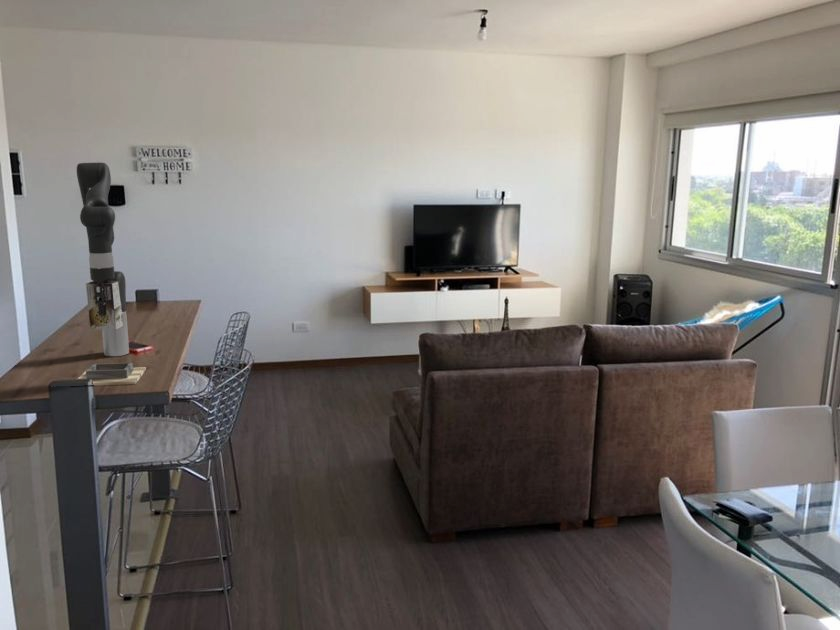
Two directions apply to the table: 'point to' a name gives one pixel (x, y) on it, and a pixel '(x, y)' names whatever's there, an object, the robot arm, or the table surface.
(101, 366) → the mount plate
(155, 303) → the table surface
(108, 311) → the coffee box
